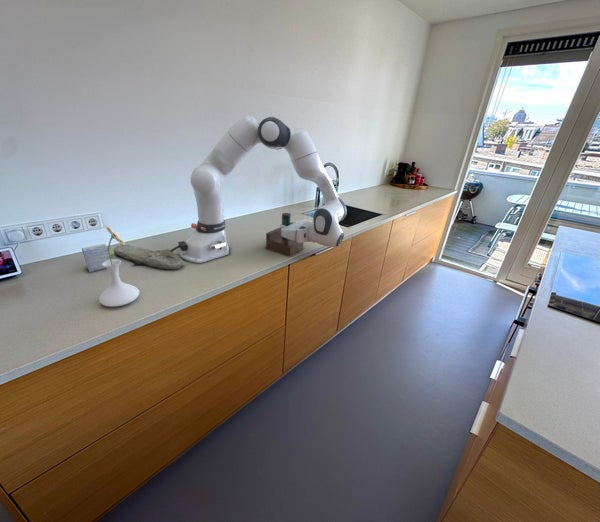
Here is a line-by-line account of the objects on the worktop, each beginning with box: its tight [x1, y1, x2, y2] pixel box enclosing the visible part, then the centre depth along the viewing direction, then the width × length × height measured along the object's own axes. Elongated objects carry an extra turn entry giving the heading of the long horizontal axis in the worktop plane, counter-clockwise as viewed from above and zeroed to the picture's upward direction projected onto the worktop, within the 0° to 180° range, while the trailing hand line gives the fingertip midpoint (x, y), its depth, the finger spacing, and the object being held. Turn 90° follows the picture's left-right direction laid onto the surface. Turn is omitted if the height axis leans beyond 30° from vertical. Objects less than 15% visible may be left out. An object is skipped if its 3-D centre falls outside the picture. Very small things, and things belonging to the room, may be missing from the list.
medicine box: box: [81, 243, 110, 273], centre depth 111 cm, size 8×4×9 cm, turn 134°
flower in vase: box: [98, 224, 140, 308], centre depth 90 cm, size 13×11×25 cm
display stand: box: [265, 227, 304, 257], centre depth 140 cm, size 12×14×8 cm
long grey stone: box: [113, 244, 184, 270], centre depth 120 cm, size 35×5×10 cm
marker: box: [281, 212, 292, 239], centre depth 137 cm, size 4×4×12 cm
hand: (284, 224), depth 137 cm, fingers closed on marker, 4 cm apart
